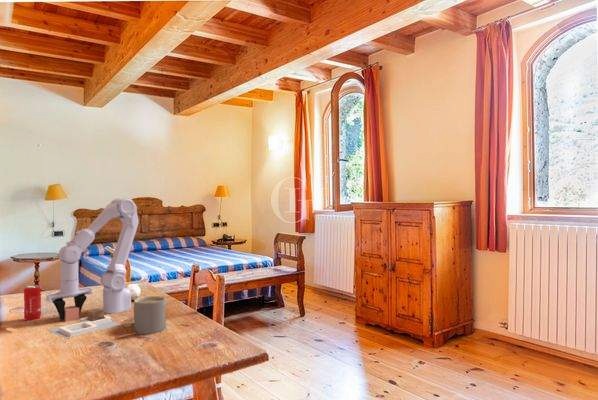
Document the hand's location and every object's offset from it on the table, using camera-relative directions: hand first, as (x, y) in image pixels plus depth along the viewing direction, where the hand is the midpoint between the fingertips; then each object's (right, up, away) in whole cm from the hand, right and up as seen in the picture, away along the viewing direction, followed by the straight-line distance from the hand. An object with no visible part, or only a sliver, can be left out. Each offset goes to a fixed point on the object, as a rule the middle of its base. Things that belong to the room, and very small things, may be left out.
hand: (69, 317), depth 149 cm
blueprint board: (+10, -1, -10) cm, 14 cm away
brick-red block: (0, -2, 0) cm, 2 cm away
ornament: (+10, -1, +30) cm, 32 cm away
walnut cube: (+11, 0, -4) cm, 12 cm away
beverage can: (-15, -2, +3) cm, 16 cm away
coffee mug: (+31, -2, -8) cm, 32 cm away
